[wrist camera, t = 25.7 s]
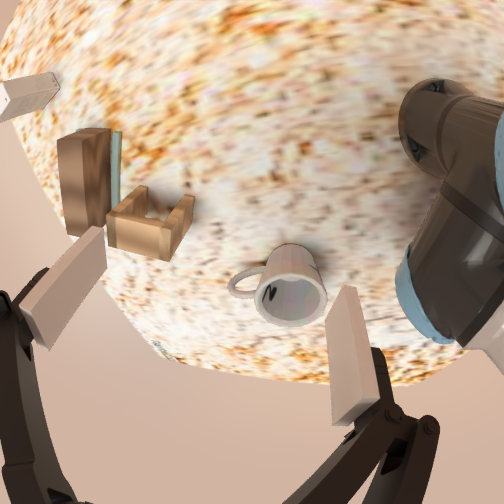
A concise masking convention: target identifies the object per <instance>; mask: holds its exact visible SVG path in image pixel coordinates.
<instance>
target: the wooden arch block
mask: <svg viewBox="0 0 504 504" xmlns="http://www.w3.org/2000/svg"><path fill="white" fill-rule="evenodd" d="M147 191H148V187H145V186H140V185H139V186H138V187H137V188H136V189H135V190H134V191H132V192H131V193H130V194H129V195H128V196H127V197H125V198H124V199H123V200H122V201H121V202H120V203H119V204H118V205H116V206H115V207H114V208H113V209H112V210H111V211H110V212H109V213H108V214H107V215H106V223H107V237H108V246H110V247H114V248H117V249H121V250H125V251H129V252H132V253H136V254H140V255H144V256H148V257H152V258H156V259H160V260H163V261H167V262H169V261H170V260H171V258H172V256H173V254H174V253H175V251H176V249H177V247H178V246H179V244H180V242H181V241H182V239H183V237H184V235H185V234H186V232H187V230H188V229H189V227H190V225H191V222H192V213H193V205H194V197H195V196H190V195H185V196H184V197H183V198H182V199H181V201H180V202H179V203H178V204H177V206H176V207H175V208H174V210H173V211H172V212H171V213H170V215H169V216H168V217H167V219H166V220H165V221H164V222H163V221H159V220H154V219H150V218H145V216H146V214H147Z"/></svg>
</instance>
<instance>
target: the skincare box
mask: <svg viewBox="0 0 504 504" xmlns="http://www.w3.org/2000/svg"><path fill="white" fill-rule="evenodd" d="M59 89H60V87H59V85H58V83H57V81H56V79H55V77H54V75H53V73H52V72H51V73H44V74H38V75H32V76H27V77H22V78H17V79H12V80H8V81H3V82H2V83H1V85H0V123H1V122H3V121H6V120H9V119H12V118H15V117H18V116H21V115H24V114H27V113H30V112H33V111H36V110H40V109H43V108H44V107H45V105H46V104H47V103H48V102H49V100H50V99H51V98H52V97H53V96H54V95H55V94H56V92H57V91H58V90H59Z"/></svg>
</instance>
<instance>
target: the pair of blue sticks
mask: <svg viewBox="0 0 504 504" xmlns="http://www.w3.org/2000/svg"><path fill="white" fill-rule="evenodd" d="M80 130H83V129H77V130H76V132H77V131H80ZM121 136H122V132H114V133H113V134H112V157H111V203H112V209H113V208H114V207H115V206H116V205H118V204H119V203H120V155H121Z"/></svg>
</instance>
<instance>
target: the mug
mask: <svg viewBox="0 0 504 504" xmlns="http://www.w3.org/2000/svg"><path fill="white" fill-rule="evenodd" d="M259 273H263V274H262V277H261V279H260V282H259V284H258V287H257V290H253V291H239V290H237V289H235V285H236V284H237V283H238V282H239V281H240V280H242V279H244V278H246V277H248V276H251V275H255V274H259ZM227 288H228V290H229V292H230V294H231V295H233V296H234V297H236V298H241V299H252V298H255V299H254V302H255V306H256V309H257V311H258V312H259V314H260V315H261V316H262V317H263V318H264V319H265V320H267V321H268V322H270V323H272V324H275V325H278V326H283V327H299V326H303V325H306V324H309V323H311V322H313V321H314V320H316V319H317V318H319V317H320V315H321V314H322V313H323V312H324V310H325V307H326V305H327V292H326V290H325V287H324V284H323V282H322V279H321V277H320V274H319V272H318V269H317V267H316V264H315V262H314V259H313V257H312V255H311V253H310V252H309V251H308V250H307V249H305V248H304V247H302V246H299V245H295V244H287V245H283V246H280V247H278V248H277V249H275V250H274V251H273V252H272V253H271V255H270V257H269V259H268V261H267V264H266V266H260V267H255V268H251V269H248V270H245V271H242V272H240V273H238V274H237V275H235V276H234V277H233V278H232V279H231V280H230V281H229V283H228V286H227Z"/></svg>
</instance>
